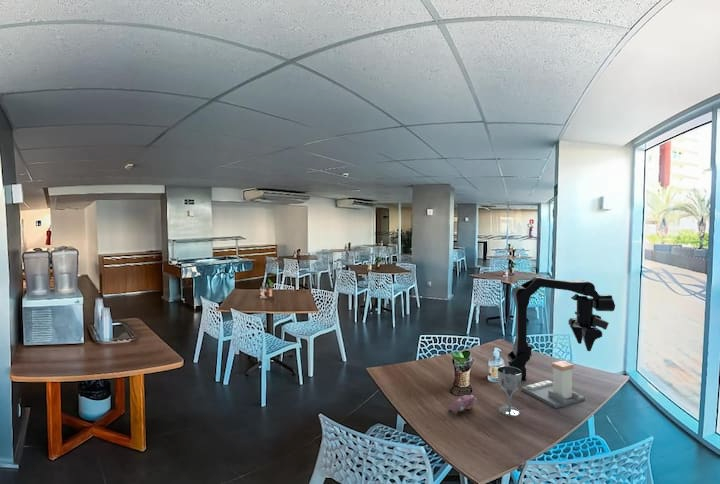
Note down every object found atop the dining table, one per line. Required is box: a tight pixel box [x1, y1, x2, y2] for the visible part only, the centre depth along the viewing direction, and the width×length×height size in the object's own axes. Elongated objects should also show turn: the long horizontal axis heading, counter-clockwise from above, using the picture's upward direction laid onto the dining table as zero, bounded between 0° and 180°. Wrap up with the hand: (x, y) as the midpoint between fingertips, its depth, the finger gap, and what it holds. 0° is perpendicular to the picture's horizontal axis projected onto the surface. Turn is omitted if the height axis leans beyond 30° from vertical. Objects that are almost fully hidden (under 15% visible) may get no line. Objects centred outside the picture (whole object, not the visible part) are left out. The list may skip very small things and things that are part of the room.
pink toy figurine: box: [448, 394, 479, 412], centre depth 130 cm, size 10×5×7 cm, turn 118°
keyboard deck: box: [520, 379, 586, 409], centre depth 140 cm, size 16×15×3 cm
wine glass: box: [496, 365, 522, 417], centre depth 129 cm, size 8×8×15 cm
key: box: [551, 360, 574, 399], centre depth 136 cm, size 5×6×12 cm
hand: (584, 347), depth 152 cm, fingers open, 9 cm apart
